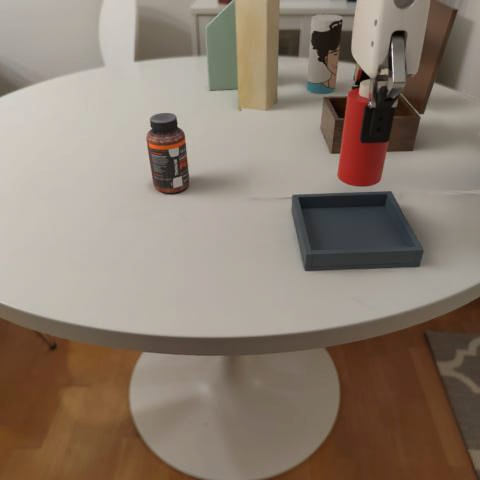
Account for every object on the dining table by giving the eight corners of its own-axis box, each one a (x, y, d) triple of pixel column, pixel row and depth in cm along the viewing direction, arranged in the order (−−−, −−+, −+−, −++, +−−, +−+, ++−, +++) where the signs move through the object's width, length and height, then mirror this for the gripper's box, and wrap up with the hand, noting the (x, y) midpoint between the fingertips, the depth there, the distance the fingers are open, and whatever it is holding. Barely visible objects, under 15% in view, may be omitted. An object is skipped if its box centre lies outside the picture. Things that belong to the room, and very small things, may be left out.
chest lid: (453, 9, 67) (458, 9, 67) (426, -5, 75) (431, -5, 76) (419, 114, 77) (423, 114, 77) (399, 91, 86) (403, 91, 86)
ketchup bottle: (374, 165, 59) (391, 75, 52) (386, 186, 55) (406, 90, 48) (333, 167, 59) (344, 76, 52) (341, 187, 55) (355, 92, 48)
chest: (330, 157, 81) (334, 120, 77) (320, 131, 90) (323, 96, 86) (411, 155, 82) (420, 117, 77) (393, 129, 90) (400, 94, 86)
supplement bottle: (190, 193, 73) (182, 123, 66) (152, 195, 73) (141, 126, 65) (190, 176, 77) (183, 108, 70) (155, 178, 77) (144, 110, 70)
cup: (328, 95, 106) (335, 22, 96) (302, 91, 108) (306, 19, 99) (339, 86, 110) (347, 16, 100) (313, 82, 113) (319, 13, 103)
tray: (387, 206, 69) (391, 190, 67) (419, 266, 58) (424, 250, 56) (291, 209, 69) (292, 194, 67) (304, 270, 58) (306, 254, 56)
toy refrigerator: (247, 98, 105) (245, -9, 92) (277, 101, 103) (281, -7, 89) (234, 110, 100) (231, -2, 86) (266, 114, 98) (268, 0, 84)
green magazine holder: (270, 76, 117) (272, -15, 104) (275, 86, 111) (278, -9, 98) (207, 80, 116) (201, -12, 103) (209, 90, 110) (202, -6, 97)
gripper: (480, -57, 35) (423, 162, 47) (410, -71, 48) (379, 103, 60) (383, -54, 35) (350, 165, 47) (339, -69, 48) (322, 105, 60)
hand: (367, 129), depth 53 cm, fingers closed on ketchup bottle, 5 cm apart
